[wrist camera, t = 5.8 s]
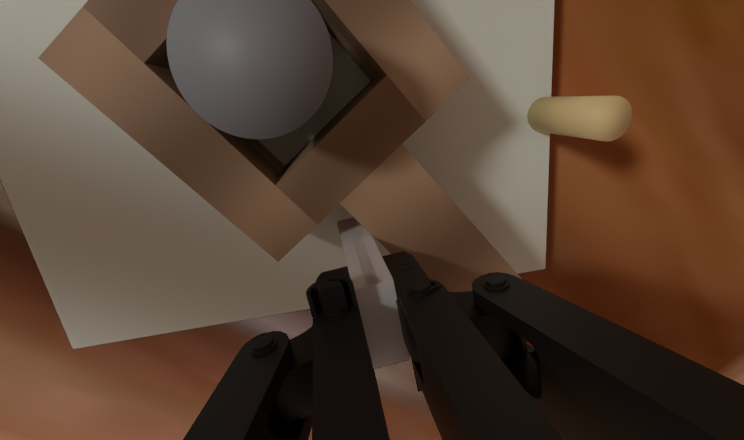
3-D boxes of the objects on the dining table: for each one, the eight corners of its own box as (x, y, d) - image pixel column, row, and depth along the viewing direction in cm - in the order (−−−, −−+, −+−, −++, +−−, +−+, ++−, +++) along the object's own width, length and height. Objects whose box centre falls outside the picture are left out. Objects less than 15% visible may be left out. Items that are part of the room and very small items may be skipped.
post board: (87, 334, 19) (-93, 517, 11) (-146, -237, 12) (-1136, -953, 4) (540, 258, 22) (684, 361, 13) (556, -260, 15) (880, -746, 6)
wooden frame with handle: (109, 68, 15) (37, 58, 11) (276, -117, 14) (260, -199, 10) (411, 339, 20) (433, 394, 17) (546, 222, 19) (601, 252, 16)
